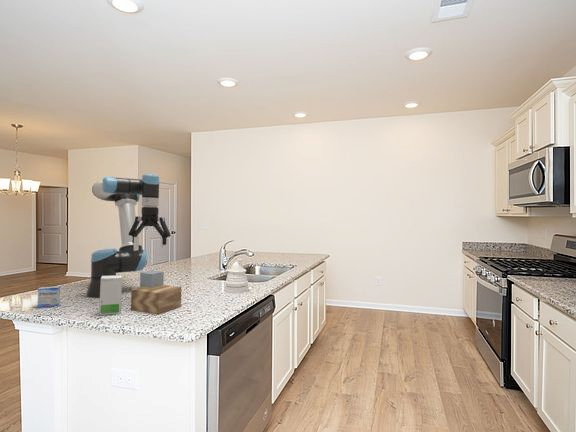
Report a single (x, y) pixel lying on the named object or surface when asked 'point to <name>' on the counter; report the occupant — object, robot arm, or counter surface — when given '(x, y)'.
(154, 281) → the slate-blue block
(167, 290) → the oak plinth
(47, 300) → the medicine box
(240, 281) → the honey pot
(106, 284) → the skincare box
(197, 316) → the counter surface
